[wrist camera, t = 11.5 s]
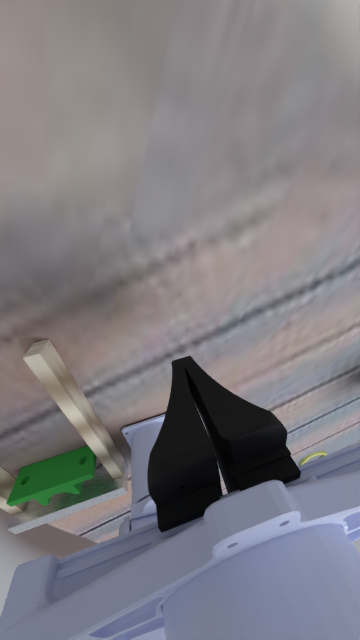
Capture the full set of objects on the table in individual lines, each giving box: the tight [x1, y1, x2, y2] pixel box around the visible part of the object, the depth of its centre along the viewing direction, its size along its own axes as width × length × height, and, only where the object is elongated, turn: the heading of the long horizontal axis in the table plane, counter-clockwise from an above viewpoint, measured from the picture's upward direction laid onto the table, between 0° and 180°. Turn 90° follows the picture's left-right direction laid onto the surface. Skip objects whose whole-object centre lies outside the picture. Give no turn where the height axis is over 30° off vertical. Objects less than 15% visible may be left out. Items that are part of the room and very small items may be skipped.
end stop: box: [7, 459, 128, 534], centre depth 30 cm, size 2×16×4 cm, turn 101°
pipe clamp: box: [6, 446, 97, 507], centre depth 28 cm, size 10×4×4 cm, turn 101°
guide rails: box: [0, 339, 124, 515], centre depth 24 cm, size 24×16×2 cm, turn 11°
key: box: [299, 451, 327, 465], centre depth 51 cm, size 7×12×2 cm, turn 27°
